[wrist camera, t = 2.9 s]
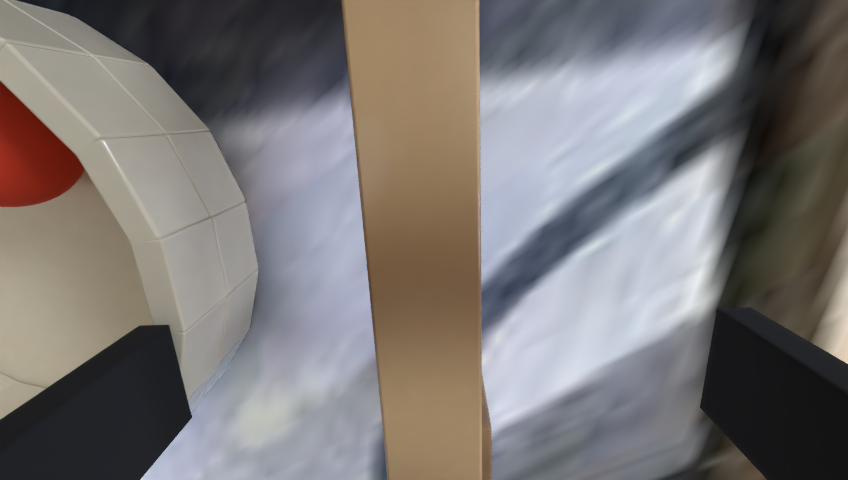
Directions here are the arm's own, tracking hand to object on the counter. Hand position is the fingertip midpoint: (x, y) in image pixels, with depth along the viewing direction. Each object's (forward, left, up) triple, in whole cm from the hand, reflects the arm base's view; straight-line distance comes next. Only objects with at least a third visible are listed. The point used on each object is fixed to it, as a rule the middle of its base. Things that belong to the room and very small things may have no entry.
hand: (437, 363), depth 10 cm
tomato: (-6, -12, -3) cm, 14 cm away
